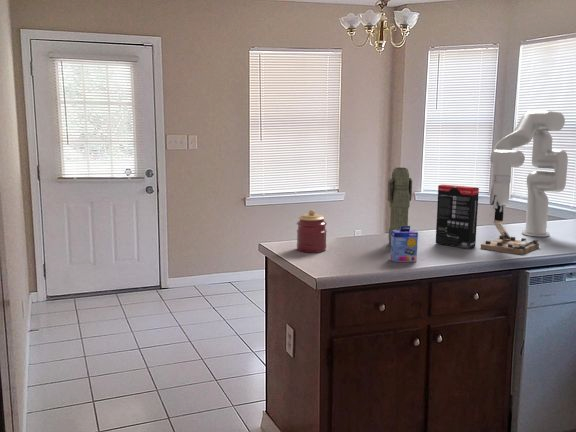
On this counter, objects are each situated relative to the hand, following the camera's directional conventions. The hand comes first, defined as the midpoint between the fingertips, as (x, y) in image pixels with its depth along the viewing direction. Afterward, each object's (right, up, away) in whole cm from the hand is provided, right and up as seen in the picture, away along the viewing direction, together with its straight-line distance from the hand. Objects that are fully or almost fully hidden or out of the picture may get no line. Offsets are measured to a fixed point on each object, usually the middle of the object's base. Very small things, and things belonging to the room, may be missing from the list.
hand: (498, 220), depth 249 cm
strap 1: (+3, -5, +4) cm, 7 cm away
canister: (-83, -13, -3) cm, 84 cm away
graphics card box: (-17, -12, +6) cm, 22 cm away
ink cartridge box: (-47, -16, -22) cm, 54 cm away
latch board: (+5, -12, +1) cm, 13 cm away
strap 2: (+9, -10, -3) cm, 14 cm away
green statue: (-43, -11, +8) cm, 45 cm away
